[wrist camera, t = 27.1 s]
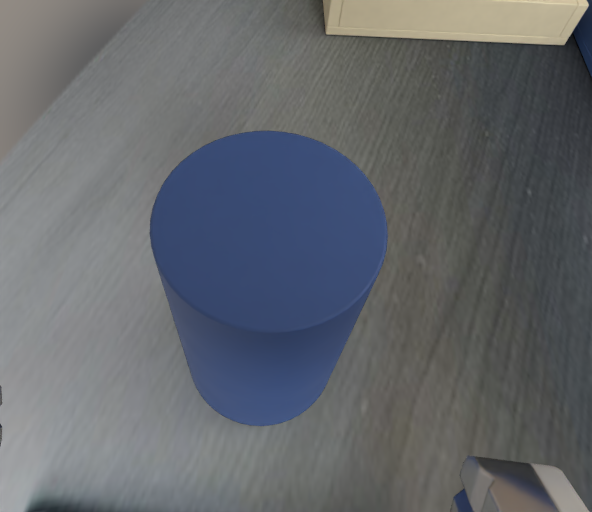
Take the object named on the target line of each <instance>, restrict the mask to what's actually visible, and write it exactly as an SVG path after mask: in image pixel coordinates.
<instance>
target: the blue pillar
mask: <svg viewBox="0 0 592 512" xmlns="http://www.w3.org/2000/svg"><path fill="white" fill-rule="evenodd" d="M387 238H388V235H387V222H386V217H385V213H384V209H383V206H382V204H381V201H380V198H379V196H378V194H377V192H376V191H375V189H374V187H373V185H372V184H371V182H370V181H369V180H368V178H367V177H366V176H365V174H364V173H363V172H362V171H361V170H360V169H359V168H358V167H357V166H356V165H355V164H354V163H353V162H352V161H350V160H349V159H348V158H347V157H345V156H344V155H342V154H341V153H340V152H338V151H337V150H335V149H333V148H331V147H329V146H327V145H326V144H324V143H321V142H319V141H316V140H314V139H311V138H308V137H305V136H301V135H298V134H292V133H287V132H278V131H253V132H245V133H239V134H235V135H230V136H227V137H224V138H221V139H218V140H215V141H213V142H211V143H209V144H207V145H205V146H203V147H201V148H200V149H198V150H196V151H195V152H193V153H192V154H190V155H189V156H188V157H187V158H185V159H184V160H183V161H182V162H181V163H180V164H179V165H178V166H177V167H176V168H175V169H174V170H173V171H172V172H171V173H170V175H169V176H168V178H167V179H166V180H165V182H164V183H163V185H162V187H161V189H160V191H159V193H158V195H157V197H156V200H155V203H154V206H153V209H152V215H151V220H150V239H151V247H152V251H153V254H154V258H155V261H156V264H157V268H158V271H159V274H160V277H161V280H162V283H163V287H164V290H165V293H166V296H167V299H168V302H169V305H170V309H171V312H172V315H173V318H174V321H175V324H176V328H177V331H178V334H179V337H180V340H181V343H182V347H183V350H184V353H185V356H186V359H187V362H188V366H189V369H190V372H191V375H192V378H193V381H194V383H195V385H196V388H197V390H198V391H199V393H200V394H201V396H202V397H203V398H204V400H205V401H206V402H207V403H208V404H209V405H210V406H211V407H212V408H213V409H214V410H215V411H217V412H218V413H220V414H221V415H223V416H225V417H227V418H229V419H231V420H233V421H236V422H239V423H242V424H247V425H255V426H266V425H274V424H278V423H282V422H285V421H288V420H290V419H292V418H294V417H296V416H298V415H300V414H301V413H302V412H304V411H305V410H307V409H308V408H309V407H310V406H311V405H312V404H313V403H314V402H315V401H316V400H317V398H318V397H319V396H320V394H321V393H322V391H323V390H324V388H325V386H326V384H327V382H328V380H329V377H330V375H331V373H332V371H333V369H334V367H335V365H336V363H337V361H338V358H339V356H340V354H341V352H342V350H343V348H344V346H345V344H346V342H347V339H348V337H349V335H350V333H351V331H352V329H353V327H354V325H355V323H356V320H357V318H358V316H359V314H360V312H361V310H362V308H363V306H364V303H365V301H366V299H367V297H368V295H369V293H370V291H371V289H372V287H373V284H374V282H375V280H376V278H377V276H378V274H379V271H380V269H381V267H382V264H383V261H384V257H385V253H386V249H387Z"/></svg>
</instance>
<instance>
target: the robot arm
mask: <svg viewBox="0 0 592 512" xmlns="http://www.w3.org/2000/svg"><path fill="white" fill-rule="evenodd" d="M1 405H2V391H1V386H0V406H1ZM1 441H2V426H1V424H0V445H1ZM460 478H461V481H462V484H463V486H464V489H463V490H462V491H461V492H459V493H458V494H457V495H456V496H454V497H453V501H452V505H451V510H450V512H589V511H588V509H587V508H586V506H585V505H584V503H583V502H582V500H581V499H580V497H579V496H578V494H577V493H576V491H575V490H574V488H573V487H572V485H571V484H570V482H569V481H568V480H567V478H566V477H565V475H564V474H563V472H562V471H561V470H560V469H558V468H557V467H555V466H548V465H540V464H532V463H521V462H513V461H506V460H498V459H491V458H483V457H476V456H467V457H466V459H465V461H464V462H463V465H462V469H461V472H460Z"/></svg>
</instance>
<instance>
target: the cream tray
mask: <svg viewBox="0 0 592 512" xmlns="http://www.w3.org/2000/svg"><path fill="white" fill-rule="evenodd" d="M588 6H589V4H588V2H587V0H323V8H324V19H325V31H326V34H328V35H350V36H371V37H393V38H415V39H437V40H459V41H481V42H502V43H524V44H546V45H565V43H566V41H567V40H568V37H570V35H571V33H572V32H573V30H574V29H575V27H576V25H577V24H578V22H579V21H580V19H581V17H582V16H583V14H584V13H585V11H586V9H587V8H588Z"/></svg>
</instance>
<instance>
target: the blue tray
mask: <svg viewBox="0 0 592 512" xmlns="http://www.w3.org/2000/svg"><path fill="white" fill-rule="evenodd" d="M587 2H588V4H589V6H588V8H587V9H586V11H585V13H584V14H583V16H582V17H581V19H580V21H579V22H578V24H577V25H576V27H575V29H574V30H573V34H574V36H575V39H576V41H577V44H578V46H579V48H580V51H581V53H582V56H583V58H584V60H585V63H586V65H587V68H588V70H589V72H590V75H591V77H592V0H587Z"/></svg>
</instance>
